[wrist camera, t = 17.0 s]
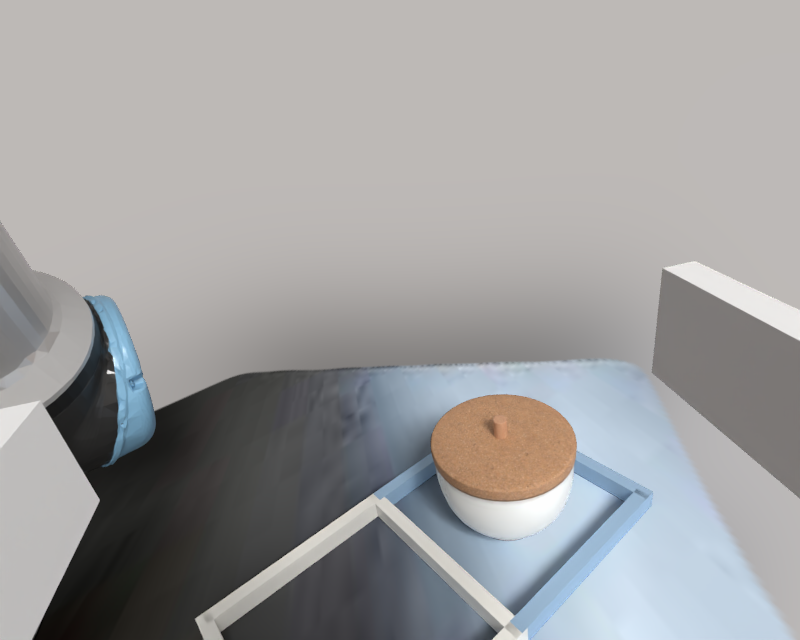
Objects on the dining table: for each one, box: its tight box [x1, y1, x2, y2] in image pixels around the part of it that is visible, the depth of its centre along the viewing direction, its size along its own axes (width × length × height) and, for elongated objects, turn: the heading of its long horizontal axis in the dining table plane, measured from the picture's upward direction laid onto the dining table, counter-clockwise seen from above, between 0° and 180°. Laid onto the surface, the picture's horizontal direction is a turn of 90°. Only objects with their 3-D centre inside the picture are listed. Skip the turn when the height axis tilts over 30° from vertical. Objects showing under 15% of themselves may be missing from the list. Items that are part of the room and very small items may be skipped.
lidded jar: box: [431, 395, 577, 541], centre depth 39 cm, size 11×11×9 cm
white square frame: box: [195, 494, 528, 640], centre depth 33 cm, size 16×16×2 cm
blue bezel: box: [373, 451, 653, 640], centre depth 41 cm, size 16×16×2 cm
